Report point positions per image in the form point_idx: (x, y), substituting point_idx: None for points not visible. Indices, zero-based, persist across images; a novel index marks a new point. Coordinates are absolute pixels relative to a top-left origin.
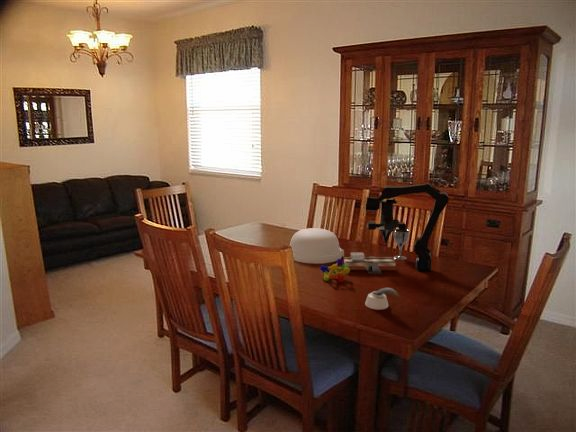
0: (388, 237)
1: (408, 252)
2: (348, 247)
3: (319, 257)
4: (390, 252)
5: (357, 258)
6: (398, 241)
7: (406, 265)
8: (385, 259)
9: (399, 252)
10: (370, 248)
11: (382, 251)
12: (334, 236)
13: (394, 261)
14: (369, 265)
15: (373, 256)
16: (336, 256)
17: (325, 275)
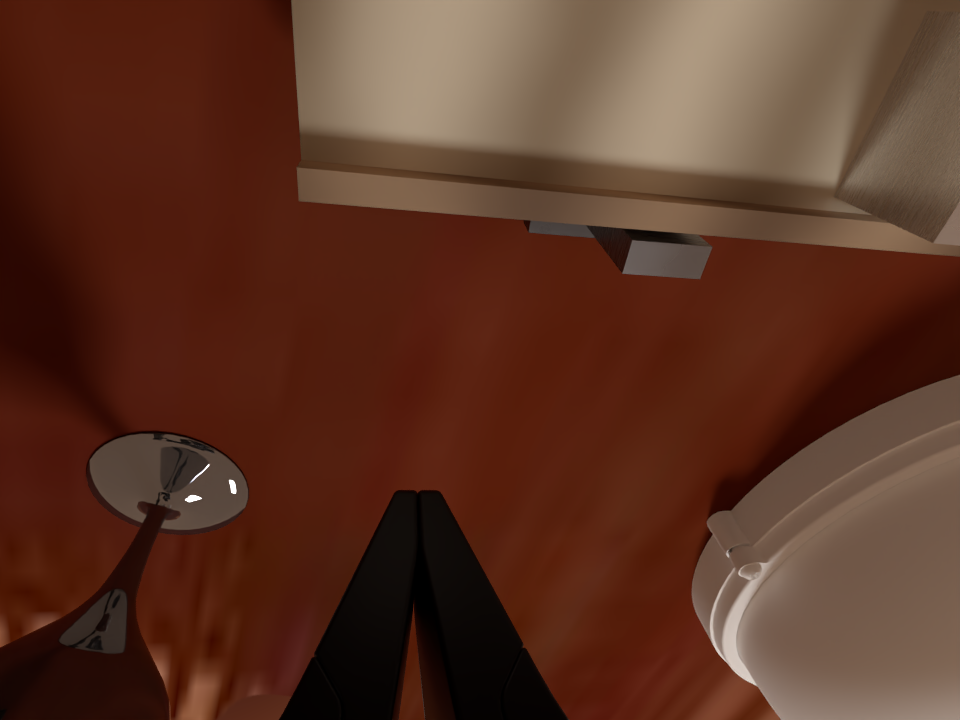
0: (333, 625)
1: (70, 608)
2: (571, 664)
3: None
4: (255, 601)
5: None
6: (99, 670)
7: (87, 236)
8: (454, 137)
9: (153, 538)
10: (411, 659)
11: (326, 616)
12: (954, 716)
13: None
14: None
15: (638, 261)
16: (876, 454)
17: None
